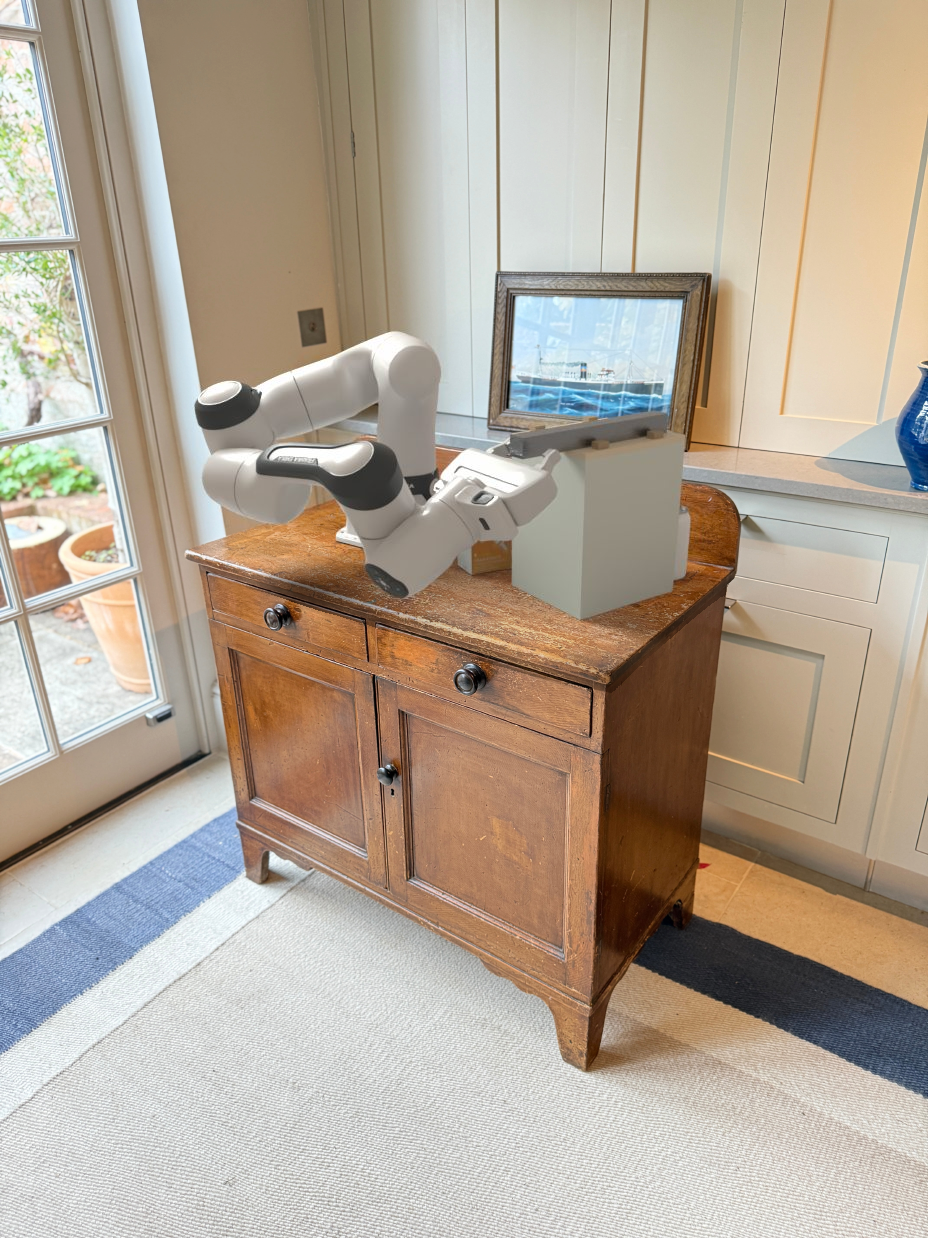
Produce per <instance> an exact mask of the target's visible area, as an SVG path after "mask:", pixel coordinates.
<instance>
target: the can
mask: <svg viewBox="0 0 928 1238" xmlns="http://www.w3.org/2000/svg"><path fill="white" fill-rule="evenodd" d="M689 511H690V509H689V507H687V506H685V505H683V504H682V505H681V504H680V508H679V520H678V532H677V544H676V556H675V568H674V580H673V582H676V581H680V580H682V579H683V578H684V577H685V576H687V575H686V574H687V565H688V556H689V554H688V553H689V543H690V532H691V522H692V521H691V515H690V513H689Z"/></svg>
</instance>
